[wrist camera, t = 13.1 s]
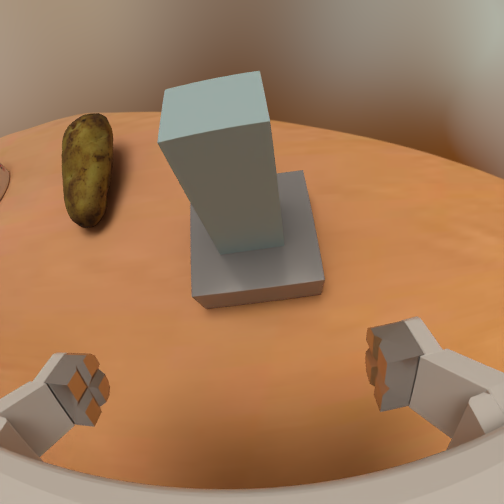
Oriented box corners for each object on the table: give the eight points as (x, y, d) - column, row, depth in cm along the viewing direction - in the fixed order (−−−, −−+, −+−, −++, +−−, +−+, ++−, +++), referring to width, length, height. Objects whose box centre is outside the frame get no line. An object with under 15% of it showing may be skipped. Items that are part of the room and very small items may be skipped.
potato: (57, 229, 34) (16, 195, 27) (98, 145, 38) (70, 106, 31) (106, 237, 32) (64, 199, 25) (147, 144, 37) (121, 98, 29)
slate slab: (321, 294, 27) (324, 279, 23) (205, 308, 28) (191, 296, 24) (302, 195, 31) (302, 170, 27) (202, 209, 32) (190, 187, 28)
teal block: (284, 245, 25) (270, 121, 13) (220, 254, 25) (157, 142, 13) (277, 201, 26) (259, 70, 14) (217, 210, 27) (165, 89, 15)
